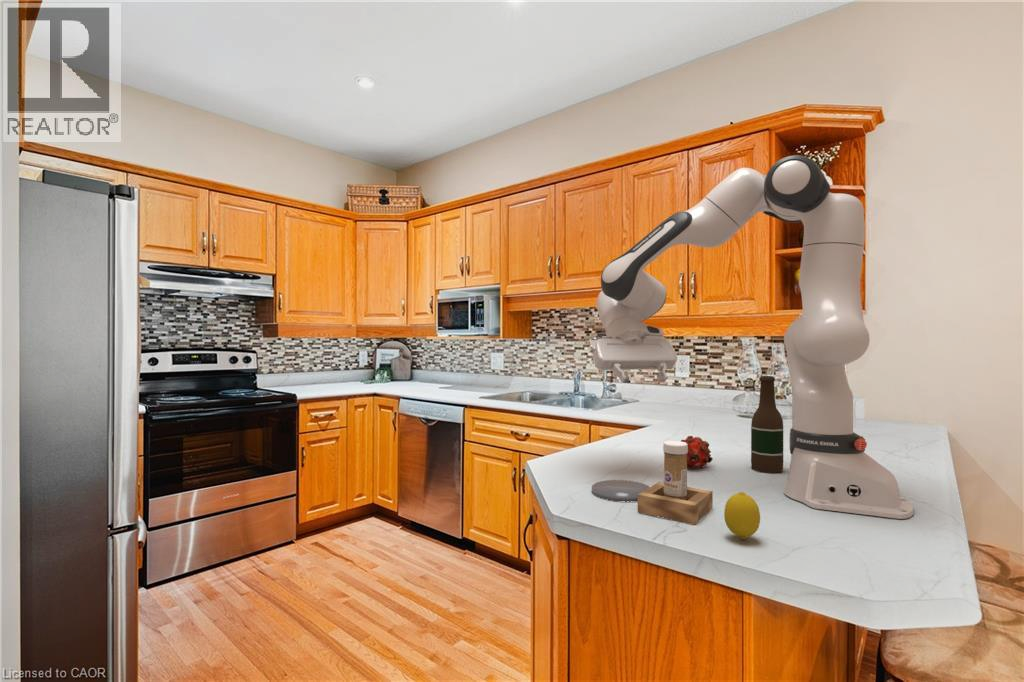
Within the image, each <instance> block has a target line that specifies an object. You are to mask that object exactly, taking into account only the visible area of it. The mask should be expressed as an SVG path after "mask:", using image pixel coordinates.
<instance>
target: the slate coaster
mask: <svg viewBox="0 0 1024 682" xmlns="http://www.w3.org/2000/svg"><path fill="white" fill-rule="evenodd" d="M649 487H650V485H648V484H645V483H642V482H638V481H633V480H626V479H625V480H624V479H606V480H600V481H597V482H595V483H593V484H591V493H592V495H593V496H595V495H596V496H595V497H596V498H599V497H600V499H602V498H603V499H602V500H605V499H608V500H607V501H610V500H613V501H612V502H617V501H625V502H624V503H631V502H630V501H638V494H639V493H641V492H643V491H644V490H646V489H648V488H649ZM627 501H629V502H627Z"/></svg>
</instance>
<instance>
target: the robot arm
mask: <svg viewBox="0 0 1024 682" xmlns="http://www.w3.org/2000/svg"><path fill="white" fill-rule="evenodd" d="M830 191H831V185H830V183H829V182H828V180H827V178H826V176H825V175H824V173H823V171H822V169H821V167H820V166H819V164H817V163H816V161H814V160H813V159H811V158H810V157H808V156H805V155H799V154H795V155H794V154H793V155H787V156H785V157H782V158H780V159H779V160H777V161H776V162H775V163H773V165H772V166H771V167H770V168H769V169H768V171H767V173H766V175H764V174H762V173H761V172H759V171H758V170H756V169H753V168H751V167H741V168H737V169H736V170H735V171H734V170H733V172H732V173H730V174H729V175H728V176H726V177H725V178H724V179H723V180H721V181H720V182H719V183H718V184H717V185H716V186H715V187H713V188H712V189H711V190H710V191H709V193H707V194H706V195H705V196H704V197H703V198H702V199H701V201H699V202H698V203H697V204H695V205H693V206H692V207H690V208H689V209H686V210H685V211H677V212H676V213H673V214H672V215H671V216H669V217H667V218H666V219H664V220H663V221H662V222H661V223H659V224H658V225H657V226H655V228H654V229H652V230H651V231H650V232H648V233H647V234H646V235H645V236H643V238H642V239H640V240H639V241H638V242H637V243H635V244H634V245H633V246H632V247H631V248H629V249H628V250H627V251H625V252H624V253H623V254H621V255H620V256H618V257H617V258H614V259H613V260H611V261H609V263H608V264H607V265H606V266H604V268H603V269H602V272H601V276H600V285H601V291H600V292H599V293H598V296H597V299H596V309H597V313H598V316H599V321H600V323H601V324H602V325H601V326H602V327H603V328H604V329H605V335H606V336H603V337H599V336H595V337H592V338H591V339H589V341H588V344H589V345H588V346H589V349H591V351H592V357H593V362H594V366H595V368H596V369H598V370H600V371H612V372H611V373H613V374H614V375H615V376H617V378H619V380H620V383H628V382H629V381H630V376H629V373H628V372H627V371H628V370H633V371H635V370H657V371H658V374H657V375H656V379H657V380H658V382H659V383H660V382H661V383H665V382H667V379H668V376H667V375H668V374H666V370H673V368H674V366H675V365H676V363H677V361H678V355H677V353H676V350H675V349H674V347H673V345H672V343H671V342H670V341H669V339H667V338H666V337H664V333H665V332H664V330H663V329H662V328H660V327H656V326H651V325H648V324H646V323H643V322H645V321H646V320H648V319H649V318H651V317H653V316H654V315H656V314H657V313H659V311H661V309H663V307H664V305H665V303H666V300H667V295H668V294H667V292H668V291H667V288H666V286H665V285H664V284H663V283H662V282H661V281H659V280H658V279H656V278H655V277H654V276H653V275H651V274H649V273H648V272H646V271H645V268H647V267H648V265H650V264H651V263H652V262H655V260H656V259H658V258H659V257H660V256H661V255H663V254H664V253H666V251H668V250H669V249H670V248H672V247H674V246H677V245H690V246H696V247H699V248H716V247H720V246H722V245H724V244H725V243H727V242H728V241H730V240H731V239H732V238H733V237H734V236H735V235H736V234H737V233H738V232H739V231H740V230H741V229H742V228H743V227H744V226H745V225H747V223H748V222H749V221H750V220H751V219H752V218H753V217H754V216H755V215H757V214H759V213H763V214H764V215H767V216H770V217H772V218H775V219H777V220H779V221H782V222H786V223H790V224H791V223H792V224H793V223H801V222H802V225H803V242H802V249H801V258H800V267H799V276H798V286H799V290H800V295H801V304H802V305H801V306H802V316H799V317H798V318H796V319H795V320H794V321H792V323H790V325H789V326H788V327H787V328H786V330H785V332H784V335H783V343H784V346H785V350H786V360H787V366H788V372H789V379H790V386H791V393H792V395H791V396H792V408H791V409H792V418H791V419H792V427H791V428H790V429H789V430H790V431H789V438H788V439H789V442H788V443H789V451H790V452H789V453H790V455H791V456H790V463H789V464H790V465H789V471H788V476H787V480H786V483H785V486H784V490H783V494H784V495H786V496H787V497H788V498H791V499H792V500H795V501H798V502H801V503H803V504H805V505H806V506H808V507H810V508H813V509H817V510H825V511H834V512H840V513H841V512H842V513H848V514H850V513H851V514H857V515H865V516H873V517H874V516H875V517H879V518H881V517H882V518H889V519H898V520H903V519H908V518H911V517H912V516H913V515H914V514H915V508H914V504H913V502H912V501H910V500H909V499H907V498H906V497H904V496H901V492H900V487H899V484H898V481H897V479H896V477H895V476H894V474H893V473H892V472H891V471H890V470H888V468H886V467H885V466H883V465H882V464H880V463H879V462H878V461H876V460H875V459H874V458H872V457H871V456H870V455H868V454H867V453H866V452H865V451H866V448H867V446H868V443H867V441H866V439H865V438H864V436H863V435H861V436H860V434H857V433H856V432H854V394H853V392H852V391H853V390H852V389H851V387H850V385H849V381H848V378H847V374H846V373H847V372H846V368H845V366H846V365H849V364H851V363H853V362H855V361H857V360H859V359H860V358H862V357H863V355H865V353H866V352H867V350H868V348H869V345H870V339H871V338H870V333H869V330H868V328H867V326H866V325H865V320H864V312H863V306H862V305H863V303H862V296H861V293H862V292H861V280H862V279H861V278H862V267H863V257H864V256H863V255H864V248H865V238H866V224H865V223H866V222H865V213H864V212H865V211H864V206H863V202H862V201H861V200H860V199H859V198H858V197H857V196H855V195H852V194H848V193H835V192H834V193H833V192H830ZM624 370H625V371H626V372H624Z"/></svg>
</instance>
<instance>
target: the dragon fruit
mask: <svg viewBox="0 0 1024 682" xmlns="http://www.w3.org/2000/svg"><path fill="white" fill-rule="evenodd" d="M680 441H681V442H685V443H687V444H688V453H687V470H692V469H694V468H695V467H698V468H701V469H702V468H704V467H705V466H706V465H707V464H709V463H711V462H712V461H713V457H712V455H711V454H710V453H711V452H712V451H711V449H710V448H709V447H710V443H709V442H708V441H706V440H703V439H702V438H701V437H699V436H698V437H697V436H695V437H694V435H688V436H687V437H686V438H685V439H681V440H680Z"/></svg>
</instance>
